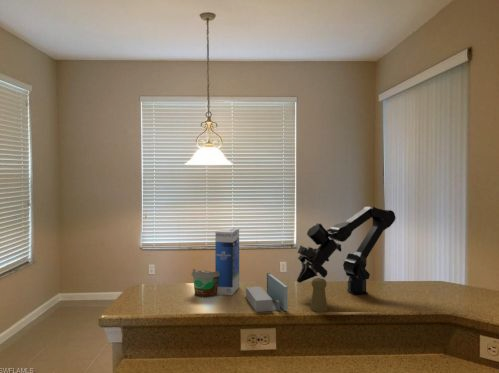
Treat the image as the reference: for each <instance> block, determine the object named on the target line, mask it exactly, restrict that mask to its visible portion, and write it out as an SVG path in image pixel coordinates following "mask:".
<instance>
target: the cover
mask: <svg viewBox="0 0 499 373" xmlns="http://www.w3.org/2000/svg"><path fill="white" fill-rule="evenodd" d="M268 295H269V296H270V297H271V298H272V300H273V302H275V303H276V300H278V301H279V302H280V309H282V310H283V311H285V312H287V311H288V286H287V285H286V284H285V283H283V282H282V281H281V280H279V279H278V278H276V277H275V276H274V275H273V274H271V273H270V274H268Z"/></svg>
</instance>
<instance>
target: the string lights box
mask: <svg viewBox="0 0 499 373" xmlns="http://www.w3.org/2000/svg"><path fill="white" fill-rule="evenodd" d="M214 232H215V238H214V239H215V241H214V242H215V246H214V247H215V249H214V250H215V254H214V255H215V258H214V260H215V261H214V262H215V263H214V264H215V268H214V269H215V271H214V272H216V271H219V273H220V276H218V287H217V296H218V295H220V296H233V295H234V294H235V293H236V291H237V290H238V289H239V288H240V228H237V227H236V228H235V227H231V228H230V227H222V228H221V229H219V230H216V231H214Z"/></svg>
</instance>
